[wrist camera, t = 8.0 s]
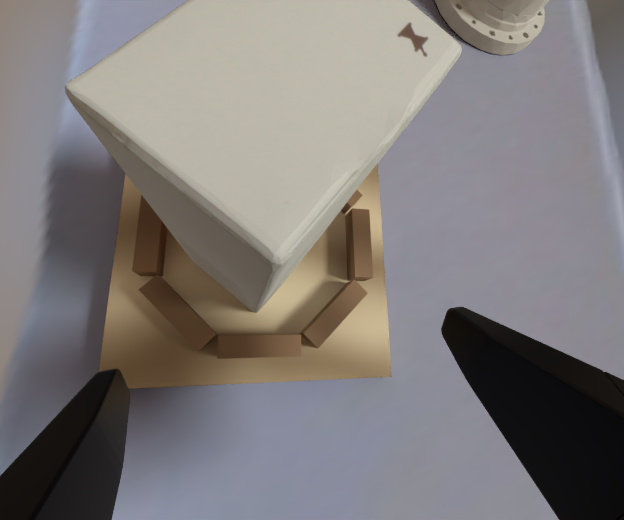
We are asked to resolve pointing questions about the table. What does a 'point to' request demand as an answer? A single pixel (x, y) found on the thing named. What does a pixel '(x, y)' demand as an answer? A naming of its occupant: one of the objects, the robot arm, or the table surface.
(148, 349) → the board
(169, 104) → the skincare box
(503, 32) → the mechanical component
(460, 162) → the table surface
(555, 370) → the robot arm
